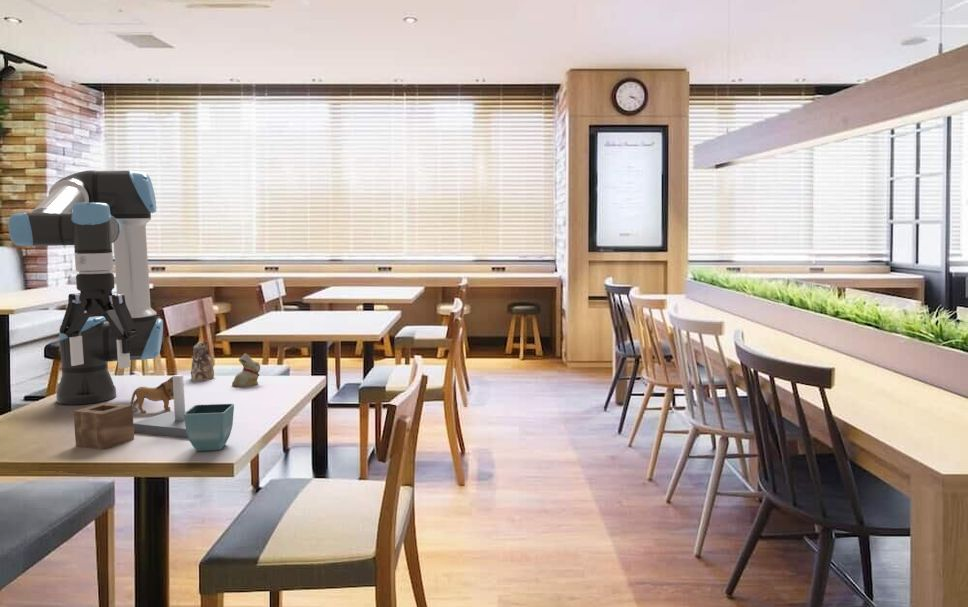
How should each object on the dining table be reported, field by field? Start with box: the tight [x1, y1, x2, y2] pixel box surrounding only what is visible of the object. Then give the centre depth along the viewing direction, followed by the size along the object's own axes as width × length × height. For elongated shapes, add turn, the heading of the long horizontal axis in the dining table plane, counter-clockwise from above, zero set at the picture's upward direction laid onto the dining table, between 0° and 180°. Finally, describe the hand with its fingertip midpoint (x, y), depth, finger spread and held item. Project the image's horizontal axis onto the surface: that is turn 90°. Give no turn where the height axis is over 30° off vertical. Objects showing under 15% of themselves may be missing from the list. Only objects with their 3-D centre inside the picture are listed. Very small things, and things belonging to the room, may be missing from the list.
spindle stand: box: [133, 374, 188, 438], centre depth 179 cm, size 18×12×13 cm, turn 71°
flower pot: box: [183, 403, 235, 452], centre depth 163 cm, size 9×9×9 cm
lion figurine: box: [129, 376, 174, 414], centre depth 197 cm, size 15×5×9 cm, turn 111°
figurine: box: [190, 340, 215, 381], centre depth 239 cm, size 7×7×12 cm
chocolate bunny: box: [231, 353, 261, 388], centre depth 228 cm, size 6×8×10 cm
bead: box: [73, 402, 135, 450], centre depth 168 cm, size 8×8×8 cm
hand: (100, 366), depth 166 cm, fingers open, 13 cm apart
